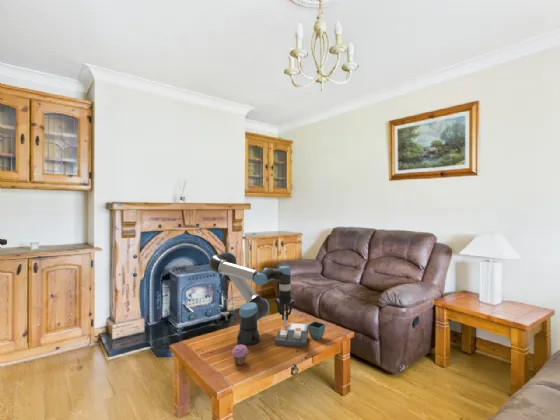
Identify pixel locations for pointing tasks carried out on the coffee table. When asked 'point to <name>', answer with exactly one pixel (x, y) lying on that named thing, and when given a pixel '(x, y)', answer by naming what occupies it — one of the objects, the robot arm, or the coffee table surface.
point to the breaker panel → (291, 340)
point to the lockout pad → (297, 325)
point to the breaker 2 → (297, 333)
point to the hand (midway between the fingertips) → (285, 324)
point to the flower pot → (316, 330)
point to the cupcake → (240, 354)
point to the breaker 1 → (283, 332)
